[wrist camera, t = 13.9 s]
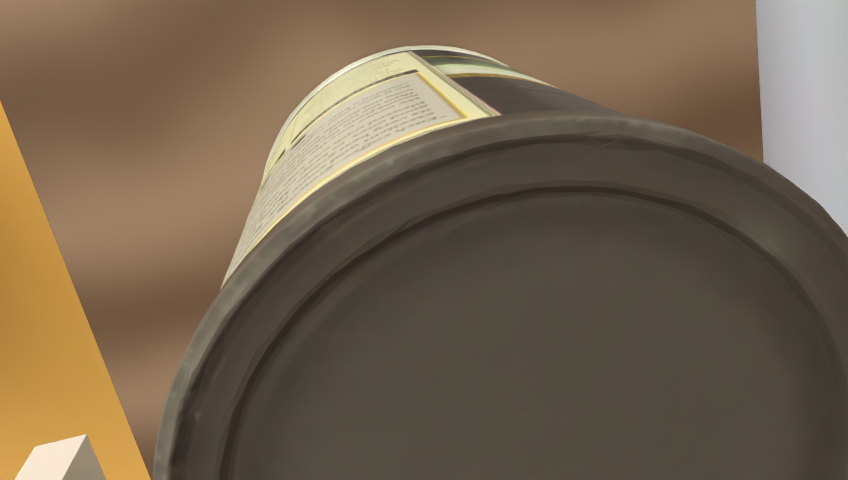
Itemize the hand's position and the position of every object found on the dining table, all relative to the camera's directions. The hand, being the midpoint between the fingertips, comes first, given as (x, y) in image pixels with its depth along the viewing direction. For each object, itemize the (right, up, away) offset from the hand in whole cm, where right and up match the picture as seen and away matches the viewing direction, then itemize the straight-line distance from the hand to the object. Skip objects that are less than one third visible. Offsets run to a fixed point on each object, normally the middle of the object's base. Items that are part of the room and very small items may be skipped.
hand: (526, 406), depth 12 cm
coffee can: (-2, +4, +12) cm, 12 cm away
